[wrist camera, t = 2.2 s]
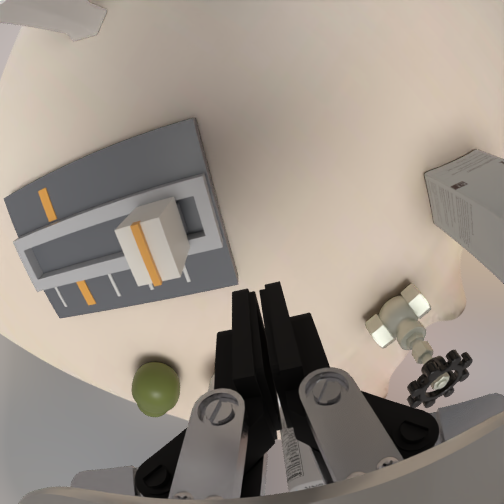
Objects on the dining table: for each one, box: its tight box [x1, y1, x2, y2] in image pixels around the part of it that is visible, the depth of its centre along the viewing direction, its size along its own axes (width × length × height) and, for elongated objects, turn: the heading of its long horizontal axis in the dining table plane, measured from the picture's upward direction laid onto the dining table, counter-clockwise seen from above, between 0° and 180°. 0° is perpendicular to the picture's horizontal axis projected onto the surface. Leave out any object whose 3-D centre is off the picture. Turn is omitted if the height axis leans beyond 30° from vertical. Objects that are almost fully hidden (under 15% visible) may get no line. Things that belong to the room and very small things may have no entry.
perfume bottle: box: [0, 0, 107, 41], centre depth 9 cm, size 5×4×15 cm
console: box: [4, 118, 238, 318], centre depth 23 cm, size 14×20×3 cm
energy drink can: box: [279, 406, 325, 492], centre depth 29 cm, size 6×6×15 cm
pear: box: [132, 362, 180, 417], centre depth 31 cm, size 6×5×10 cm
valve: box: [365, 283, 472, 408], centre depth 24 cm, size 7×7×12 cm
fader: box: [114, 196, 190, 286], centre depth 19 cm, size 4×3×6 cm
